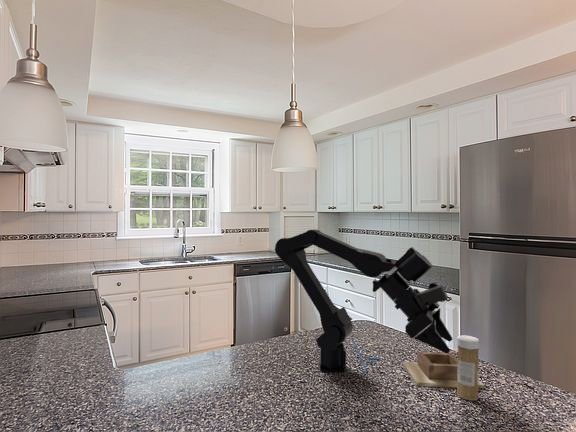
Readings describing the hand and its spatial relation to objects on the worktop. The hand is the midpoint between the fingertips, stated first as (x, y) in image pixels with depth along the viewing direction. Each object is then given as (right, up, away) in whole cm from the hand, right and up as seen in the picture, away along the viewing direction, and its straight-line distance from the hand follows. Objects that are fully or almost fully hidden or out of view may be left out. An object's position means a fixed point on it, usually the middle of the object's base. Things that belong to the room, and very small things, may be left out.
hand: (450, 346), depth 85 cm
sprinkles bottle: (+3, -11, -2) cm, 12 cm away
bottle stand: (+2, -11, +9) cm, 14 cm away
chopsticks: (-15, -11, +21) cm, 28 cm away
